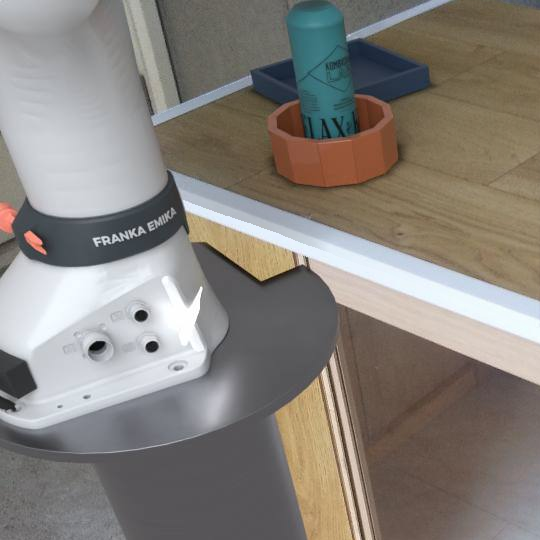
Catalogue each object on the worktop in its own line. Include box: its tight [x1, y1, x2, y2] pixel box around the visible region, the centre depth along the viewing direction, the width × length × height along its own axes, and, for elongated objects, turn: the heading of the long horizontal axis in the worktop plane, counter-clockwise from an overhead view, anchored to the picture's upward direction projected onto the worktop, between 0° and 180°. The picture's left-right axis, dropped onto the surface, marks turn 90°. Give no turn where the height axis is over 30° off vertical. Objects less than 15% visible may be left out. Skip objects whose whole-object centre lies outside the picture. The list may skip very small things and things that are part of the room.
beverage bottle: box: [284, 0, 361, 140], centre depth 109 cm, size 6×7×20 cm
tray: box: [249, 37, 431, 106], centre depth 130 cm, size 18×16×3 cm
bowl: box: [267, 94, 400, 188], centre depth 114 cm, size 14×14×5 cm
